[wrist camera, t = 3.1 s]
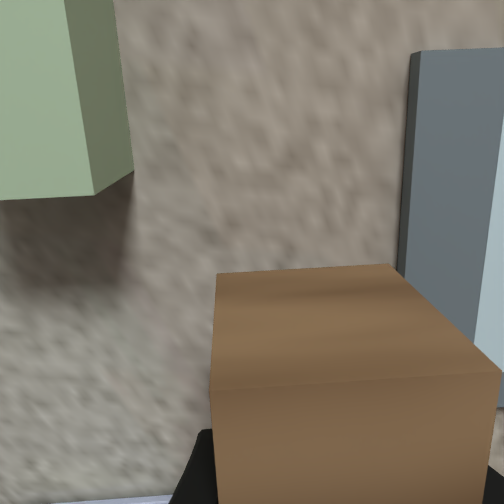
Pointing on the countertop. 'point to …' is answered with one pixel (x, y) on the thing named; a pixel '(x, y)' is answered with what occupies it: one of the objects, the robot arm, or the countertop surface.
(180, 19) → the countertop surface
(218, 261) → the countertop surface
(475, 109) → the board
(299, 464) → the walnut brick
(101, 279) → the countertop surface
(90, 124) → the green brick
